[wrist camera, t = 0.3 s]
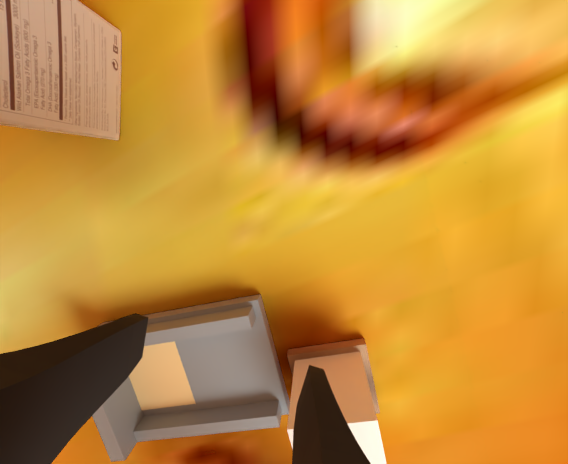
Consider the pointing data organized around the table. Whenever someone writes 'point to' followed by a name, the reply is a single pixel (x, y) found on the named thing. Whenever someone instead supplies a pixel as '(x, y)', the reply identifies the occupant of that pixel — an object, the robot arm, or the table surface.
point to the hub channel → (198, 378)
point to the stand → (334, 350)
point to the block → (344, 399)
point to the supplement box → (59, 68)
